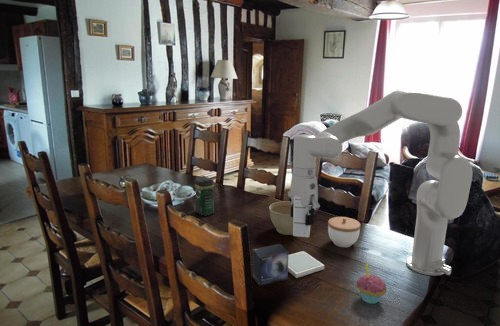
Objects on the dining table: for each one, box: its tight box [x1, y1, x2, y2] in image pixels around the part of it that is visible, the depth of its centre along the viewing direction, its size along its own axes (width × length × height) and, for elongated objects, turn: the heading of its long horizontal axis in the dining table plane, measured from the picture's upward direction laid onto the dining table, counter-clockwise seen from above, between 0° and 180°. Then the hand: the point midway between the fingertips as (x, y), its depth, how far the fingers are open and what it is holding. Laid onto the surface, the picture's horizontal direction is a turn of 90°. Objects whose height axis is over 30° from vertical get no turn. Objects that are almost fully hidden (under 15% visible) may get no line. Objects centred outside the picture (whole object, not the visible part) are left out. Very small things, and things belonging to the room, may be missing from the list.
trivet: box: [288, 250, 325, 279], centre depth 125 cm, size 12×12×2 cm
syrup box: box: [292, 195, 311, 238], centre depth 121 cm, size 6×6×14 cm
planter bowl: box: [268, 200, 293, 236], centre depth 153 cm, size 16×16×11 cm
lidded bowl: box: [327, 216, 362, 248], centre depth 141 cm, size 13×13×11 cm
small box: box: [251, 243, 290, 287], centre depth 116 cm, size 11×6×10 cm, turn 114°
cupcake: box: [356, 261, 387, 305], centre depth 105 cm, size 9×8×12 cm
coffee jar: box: [194, 175, 215, 216], centre depth 173 cm, size 10×8×19 cm
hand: (301, 220), depth 121 cm, fingers closed on syrup box, 7 cm apart
